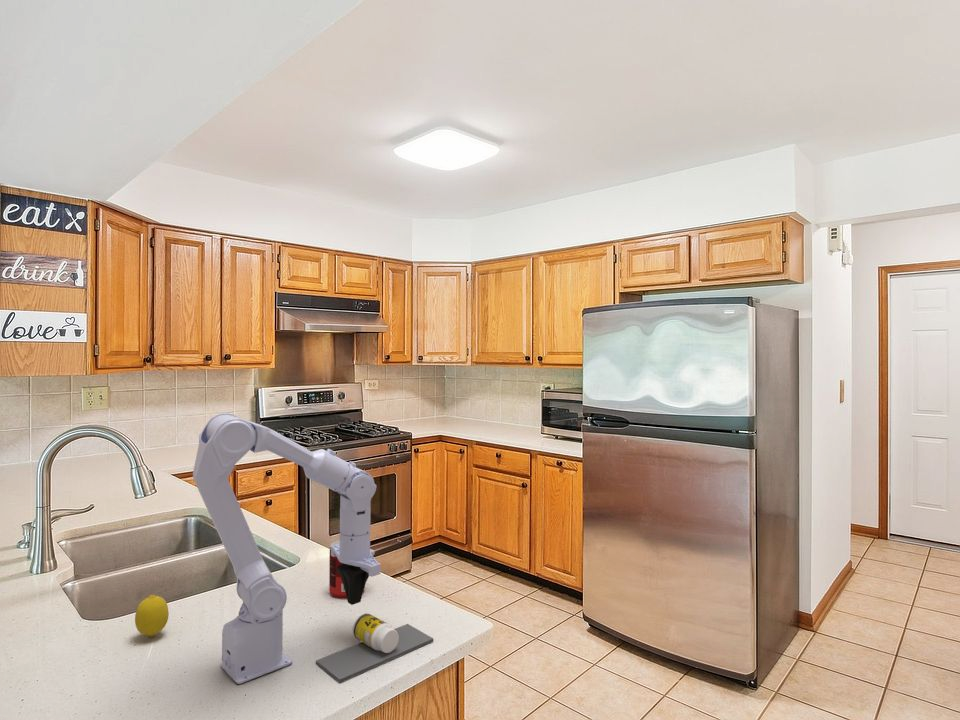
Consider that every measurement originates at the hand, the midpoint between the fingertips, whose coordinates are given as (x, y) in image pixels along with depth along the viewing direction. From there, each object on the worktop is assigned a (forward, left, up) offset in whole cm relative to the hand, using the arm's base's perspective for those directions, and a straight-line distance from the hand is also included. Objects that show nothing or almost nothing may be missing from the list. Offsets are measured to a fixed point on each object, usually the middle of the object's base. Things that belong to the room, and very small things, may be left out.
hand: (354, 602), depth 111 cm
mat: (0, -8, -7) cm, 10 cm away
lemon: (-28, +26, -7) cm, 39 cm away
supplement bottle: (0, -2, -4) cm, 4 cm away
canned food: (+10, +19, -7) cm, 22 cm away
